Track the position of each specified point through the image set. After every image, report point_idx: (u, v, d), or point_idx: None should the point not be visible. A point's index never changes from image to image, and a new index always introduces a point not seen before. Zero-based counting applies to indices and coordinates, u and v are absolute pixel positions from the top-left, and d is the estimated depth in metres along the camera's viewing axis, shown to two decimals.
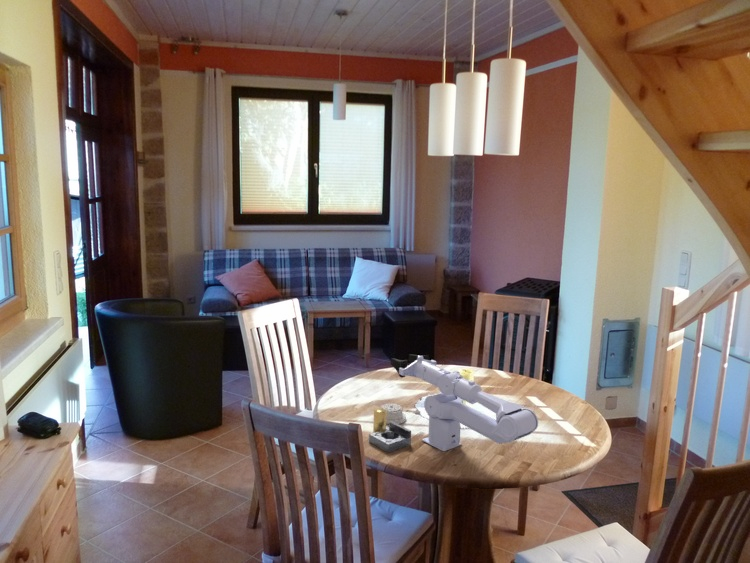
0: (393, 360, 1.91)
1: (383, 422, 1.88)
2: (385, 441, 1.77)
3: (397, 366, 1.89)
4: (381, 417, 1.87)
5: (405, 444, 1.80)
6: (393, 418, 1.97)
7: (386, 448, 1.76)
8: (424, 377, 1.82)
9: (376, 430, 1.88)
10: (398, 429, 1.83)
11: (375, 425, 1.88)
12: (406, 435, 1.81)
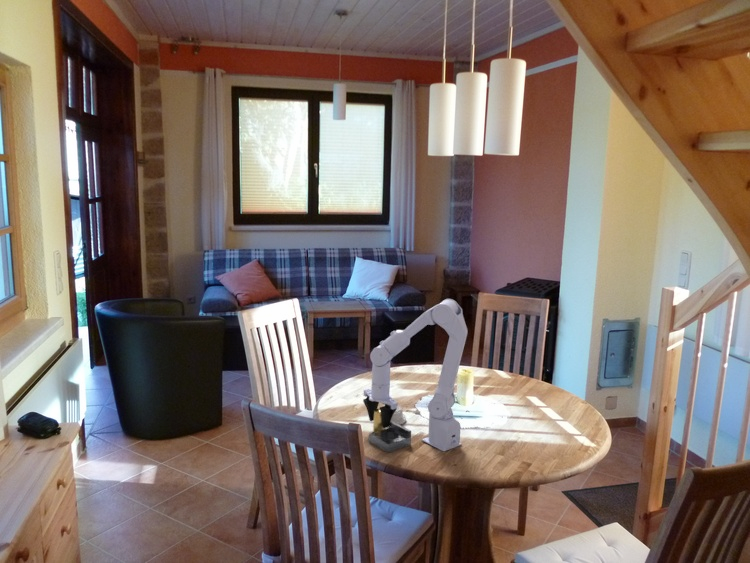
0: (384, 424, 1.86)
1: None
2: (385, 441, 1.77)
3: (388, 417, 1.87)
4: None
5: (405, 444, 1.80)
6: (393, 419, 1.96)
7: (386, 448, 1.76)
8: (380, 384, 1.85)
9: (376, 430, 1.88)
10: (398, 429, 1.83)
11: (375, 425, 1.88)
12: (406, 435, 1.81)
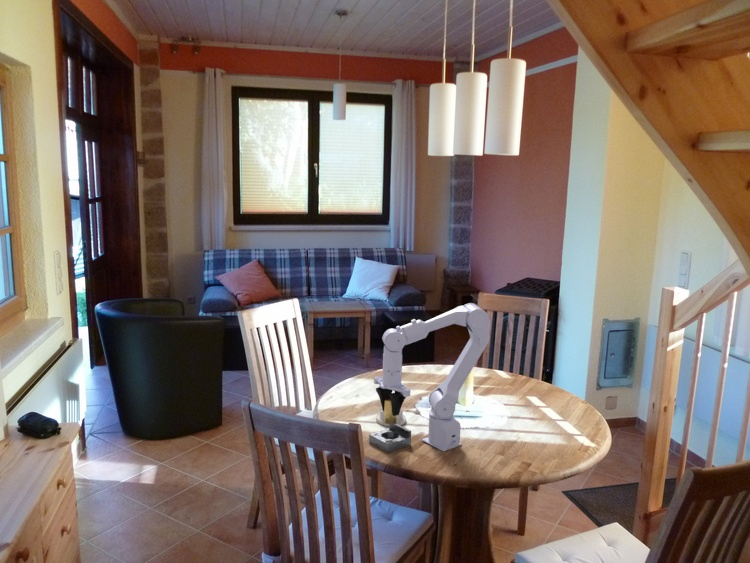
0: (394, 412, 1.77)
1: None
2: (385, 441, 1.77)
3: (398, 404, 1.78)
4: None
5: (405, 444, 1.80)
6: None
7: (386, 448, 1.76)
8: (396, 370, 1.75)
9: (387, 420, 1.79)
10: (398, 429, 1.83)
11: (386, 415, 1.79)
12: (406, 435, 1.81)
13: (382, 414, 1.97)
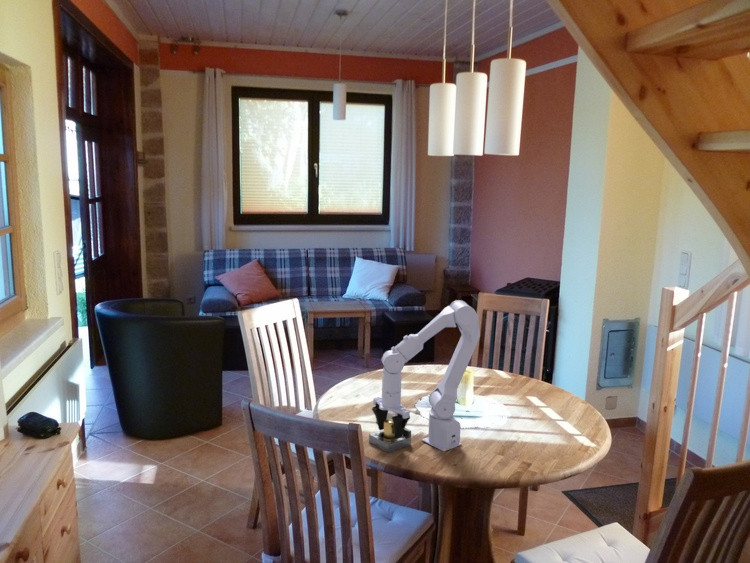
0: (397, 434, 1.77)
1: (394, 433, 1.80)
2: (385, 441, 1.77)
3: (401, 427, 1.78)
4: (392, 428, 1.79)
5: (405, 444, 1.80)
6: None
7: (386, 448, 1.76)
8: (395, 392, 1.76)
9: None
10: None
11: (386, 437, 1.80)
12: (406, 435, 1.81)
13: None
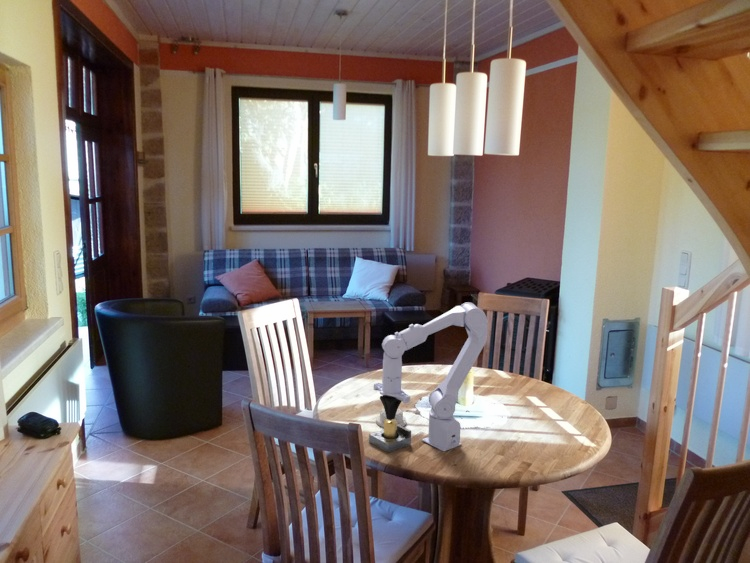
0: (390, 416, 1.79)
1: (394, 433, 1.80)
2: (385, 441, 1.77)
3: (394, 408, 1.80)
4: (392, 428, 1.79)
5: (405, 444, 1.80)
6: None
7: (386, 448, 1.76)
8: (395, 377, 1.76)
9: None
10: (398, 429, 1.83)
11: (386, 437, 1.80)
12: (406, 435, 1.81)
13: (382, 416, 1.95)
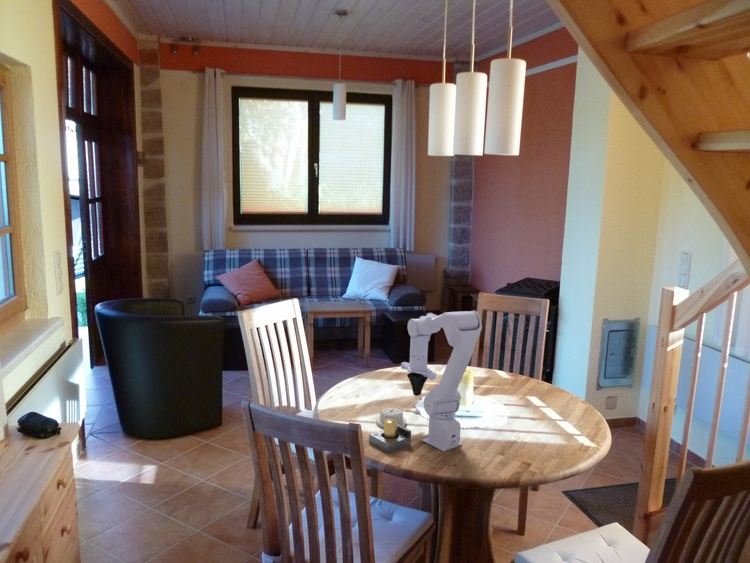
0: (417, 392, 1.94)
1: (394, 433, 1.80)
2: (385, 441, 1.77)
3: (420, 385, 1.95)
4: (392, 428, 1.79)
5: (405, 444, 1.80)
6: None
7: (386, 448, 1.76)
8: (412, 354, 1.92)
9: None
10: (398, 429, 1.83)
11: (385, 437, 1.80)
12: (406, 435, 1.81)
13: (382, 417, 1.94)
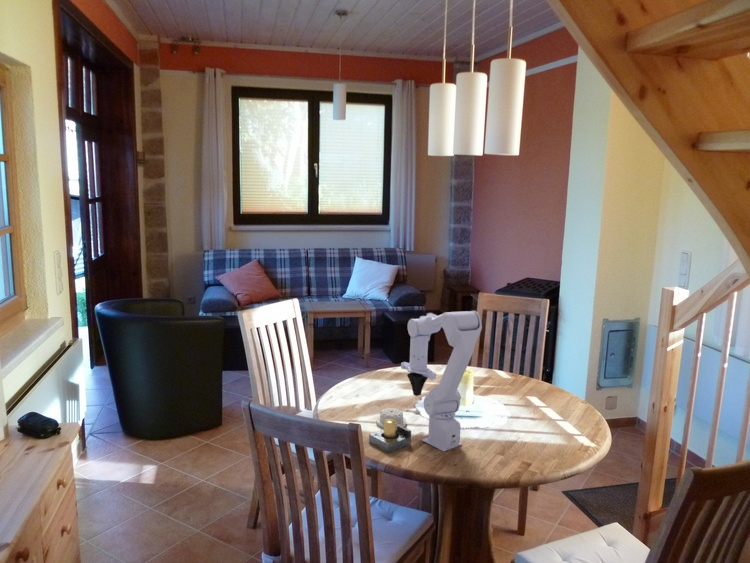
0: (417, 392, 1.94)
1: (394, 433, 1.80)
2: (385, 441, 1.77)
3: (420, 385, 1.95)
4: (392, 428, 1.79)
5: (405, 444, 1.80)
6: None
7: (386, 448, 1.76)
8: (412, 354, 1.92)
9: None
10: (398, 429, 1.83)
11: (386, 437, 1.80)
12: (406, 435, 1.81)
13: (382, 417, 1.94)
